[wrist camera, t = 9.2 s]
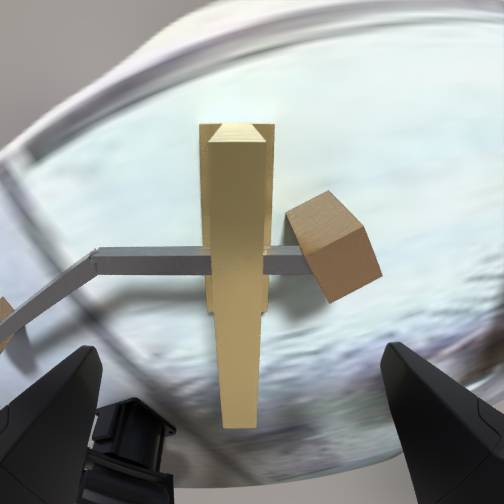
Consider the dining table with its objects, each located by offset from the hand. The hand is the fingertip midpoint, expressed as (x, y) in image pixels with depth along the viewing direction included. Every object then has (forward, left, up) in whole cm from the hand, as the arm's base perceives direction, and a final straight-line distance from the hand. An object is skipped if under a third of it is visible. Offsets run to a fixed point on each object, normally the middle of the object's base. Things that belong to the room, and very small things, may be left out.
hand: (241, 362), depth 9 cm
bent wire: (0, +9, -12) cm, 15 cm away
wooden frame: (0, 0, -12) cm, 12 cm away
